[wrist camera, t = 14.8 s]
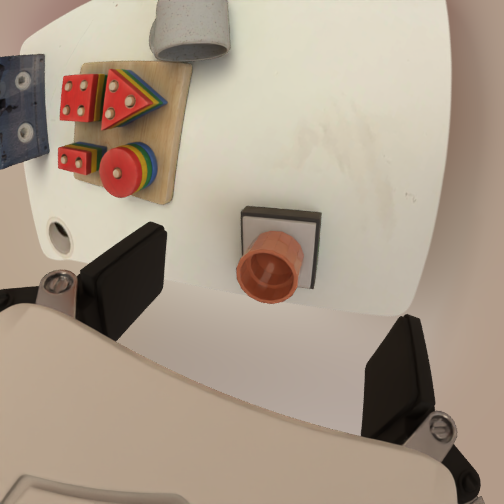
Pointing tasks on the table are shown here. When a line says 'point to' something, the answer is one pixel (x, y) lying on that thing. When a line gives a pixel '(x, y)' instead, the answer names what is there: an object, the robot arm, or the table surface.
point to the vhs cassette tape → (22, 109)
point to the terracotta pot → (271, 267)
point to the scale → (292, 223)
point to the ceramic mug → (190, 30)
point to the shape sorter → (126, 126)
